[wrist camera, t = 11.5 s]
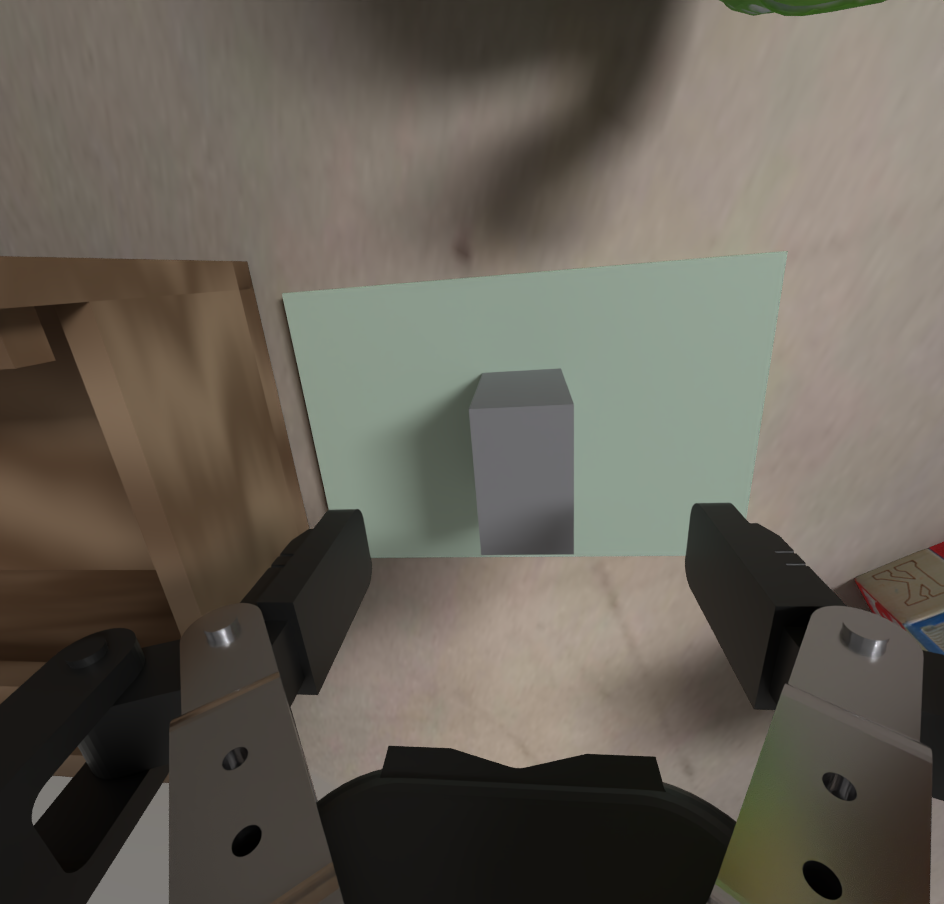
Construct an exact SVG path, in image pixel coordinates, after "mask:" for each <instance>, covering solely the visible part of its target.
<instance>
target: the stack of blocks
mask: <svg viewBox="0 0 944 904" xmlns="http://www.w3.org/2000/svg"><path fill="white" fill-rule="evenodd" d="M855 582H856V584H857V585H858V587H859V589H860V591H861V593H862V595H863V597H864V598H865V600H866V602H867V604H868V606H869V608H870V609H871V611H872V613H874V614H876V615H879V616H881V617H883V618H886V619H888V620H889V621H891V622H893V623H895V624H897V625H898V626H900V627H901V628H903V629H904V630H905V631H907V632H908V633H909V634H910V635H911V636H912V637H913V638H914V639H915V640H916V641H917V642H918V644H919V645H920V647H921V649H922V650H925V651H929V652H933V653H938V654H943V655H944V542H942V543H939V544H937V545H934V546H932V547H930V548H928V549H924V550H921V551H918V552H916V553H914V554H911V555H909V556H906V557H904V558H901V559H899V560H896V561H894V562H891V563H889V564H886V565H884V566H882V567H879V568H877V569H874V570H872V571H869V572H867V573H864V574H862V575H860V576H858V577H856V578H855Z"/></svg>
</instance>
